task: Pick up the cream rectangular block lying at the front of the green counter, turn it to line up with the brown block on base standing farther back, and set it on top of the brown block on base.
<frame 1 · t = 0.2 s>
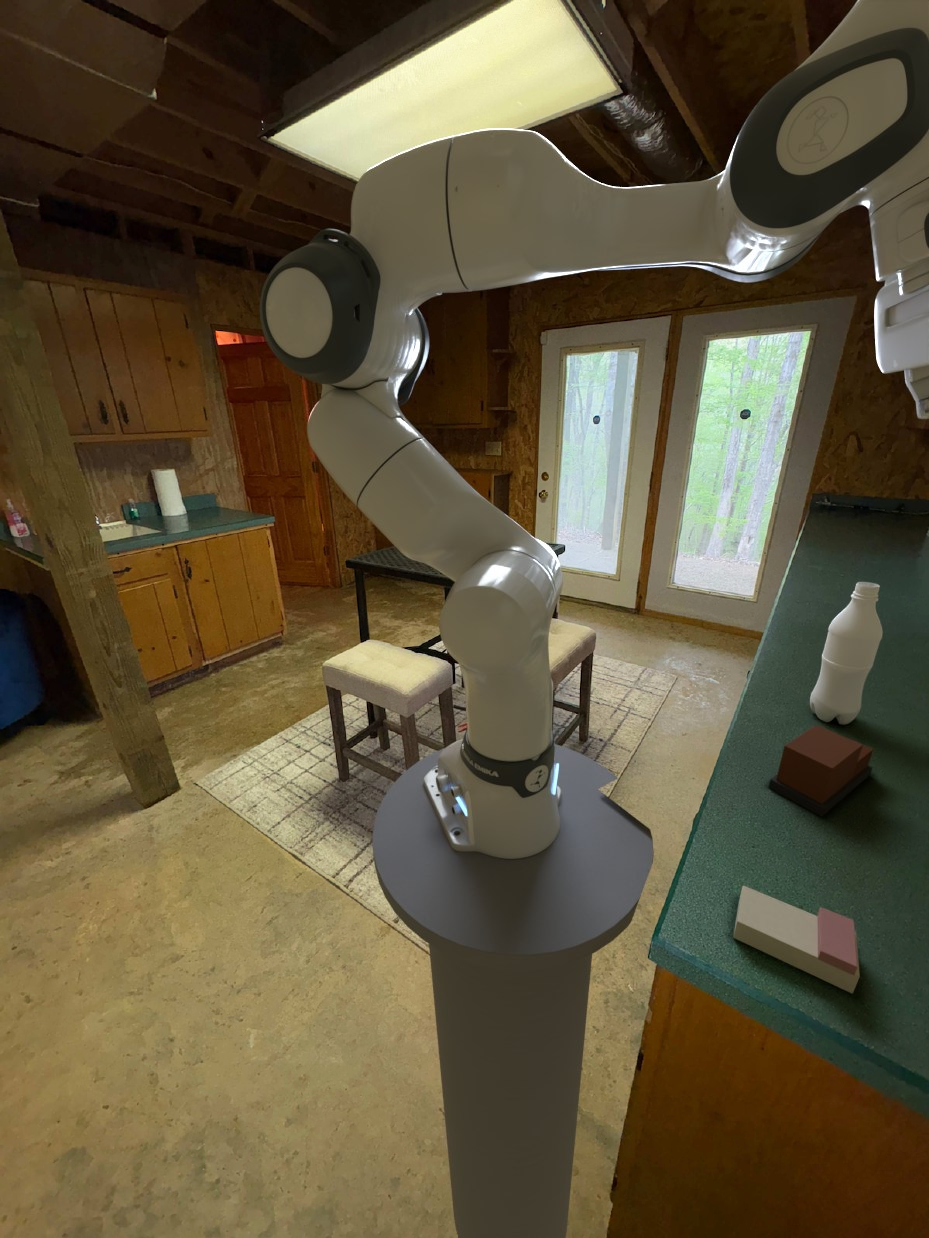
cream rectangular block: (790, 943, 50), on the kitchen counter
water bottle: (830, 717, 87), on the kitchen counter
brown block on base: (819, 781, 72), on the kitchen counter
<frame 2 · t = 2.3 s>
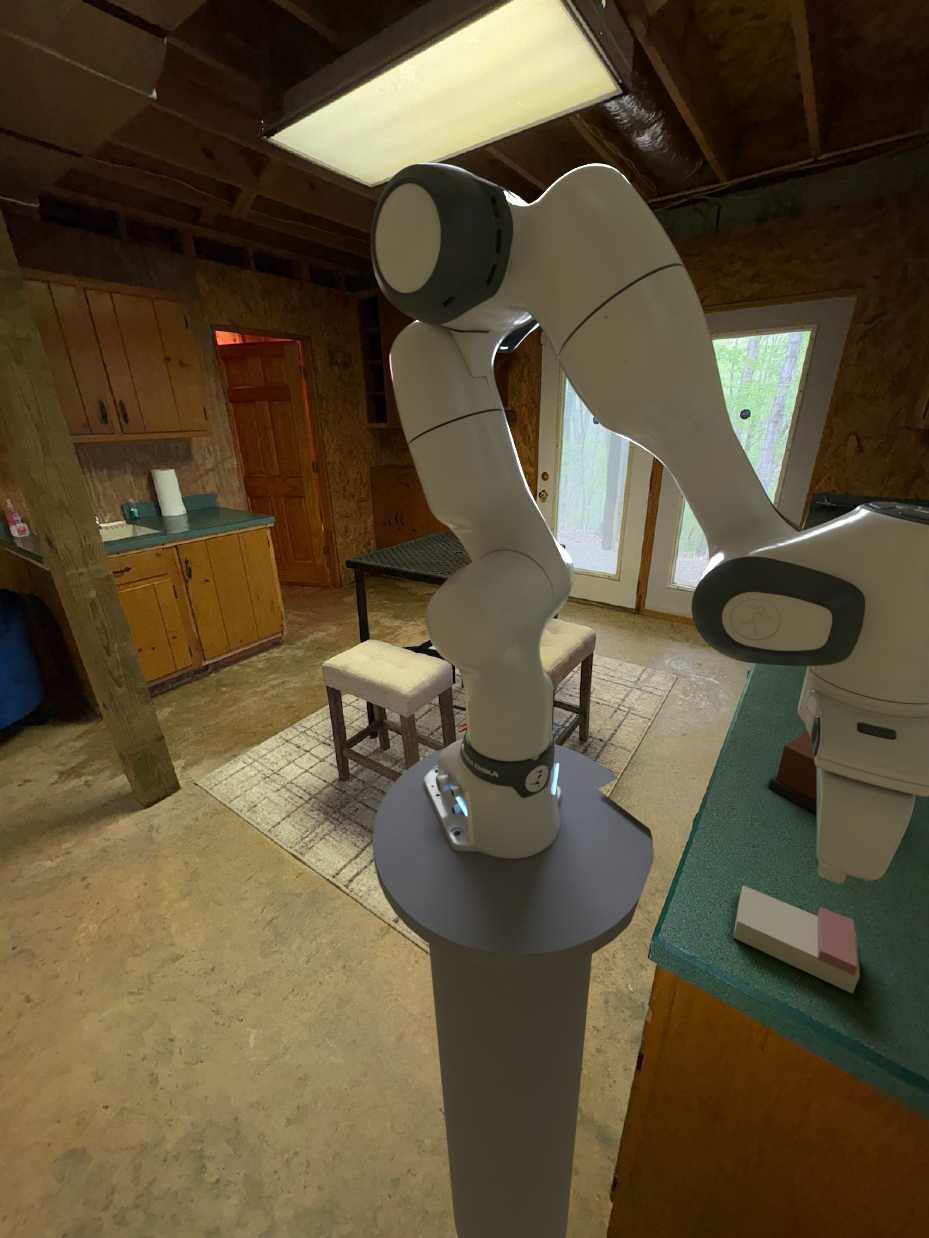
hand: (828, 836, 44), 15 cm above the kitchen counter, tool pointing down, fingers open, 8 cm apart
nothing on the kitchen counter moved.
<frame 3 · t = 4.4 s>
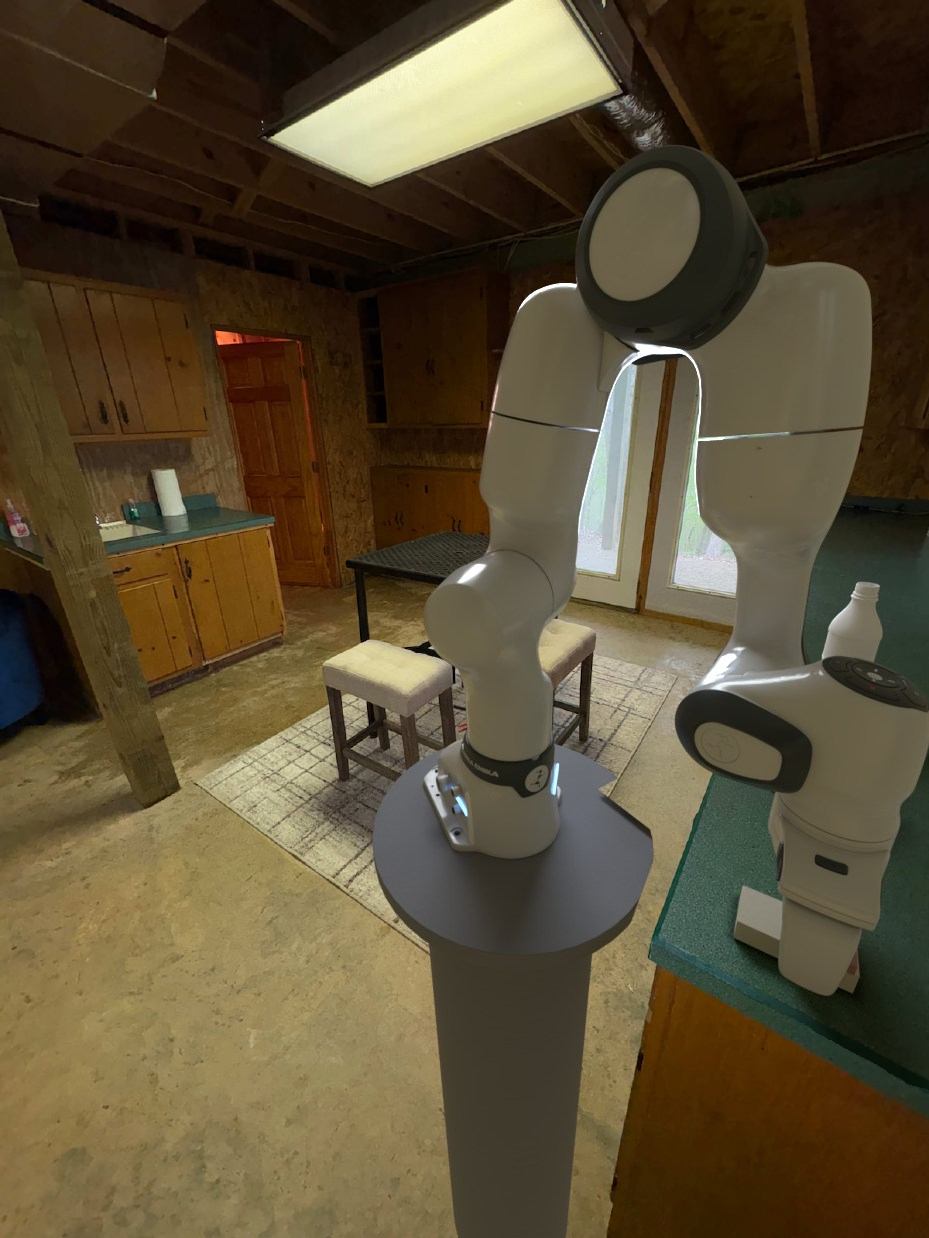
hand: (794, 932, 49), 2 cm above the kitchen counter, tool pointing down, fingers closed on cream rectangular block, 5 cm apart
cream rectangular block: (790, 943, 50), on the kitchen counter, touching gripper
everything else where it was.
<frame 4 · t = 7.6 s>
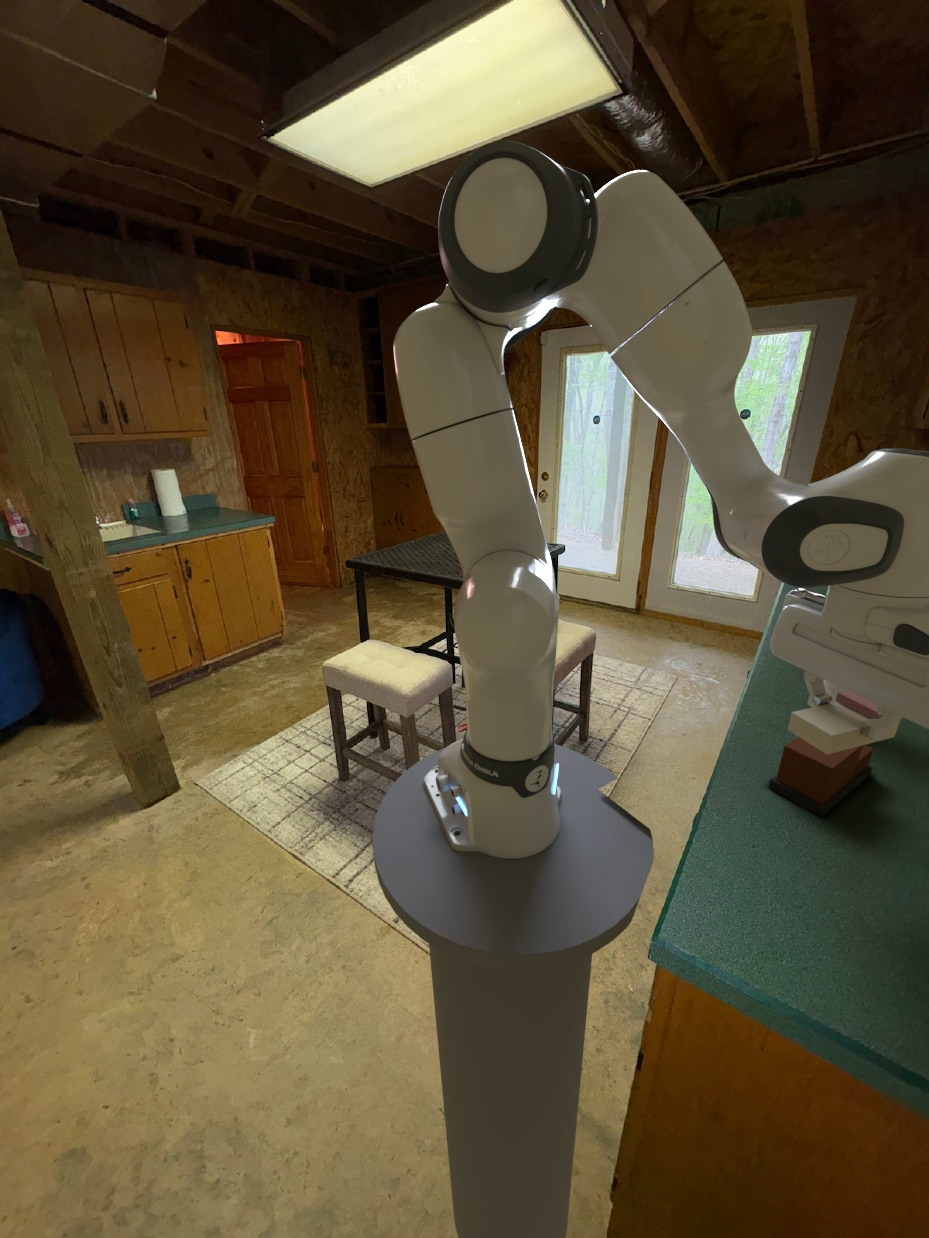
hand: (843, 721, 56), 17 cm above the kitchen counter, tool pointing down, fingers closed on cream rectangular block, 5 cm apart
cream rectangular block: (839, 733, 57), point 16 cm above the kitchen counter, touching gripper
everything else where it was.
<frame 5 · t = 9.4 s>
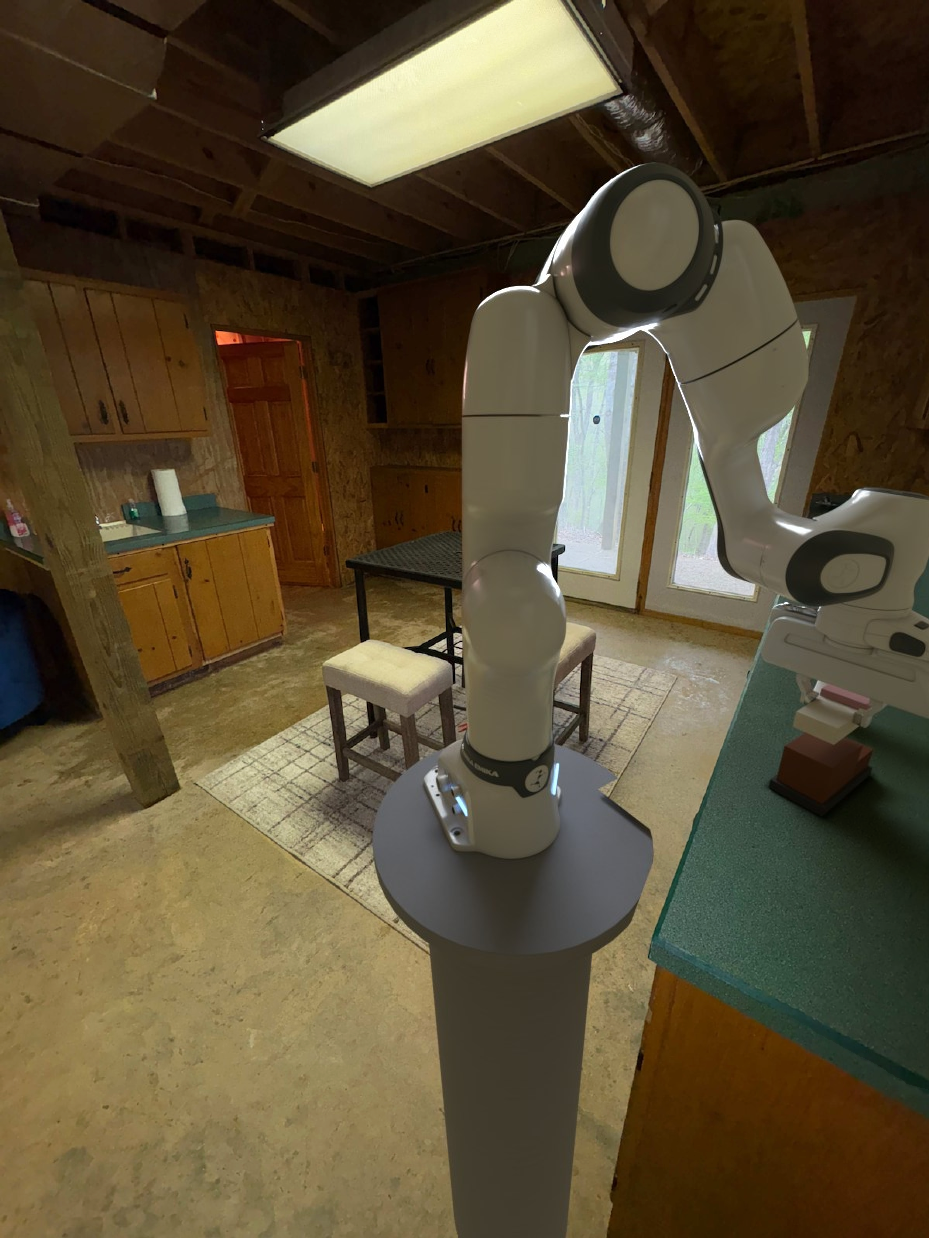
hand: (833, 713, 66), 13 cm above the kitchen counter, tool pointing down, fingers closed on cream rectangular block, 5 cm apart
cream rectangular block: (830, 723, 67), point 11 cm above the kitchen counter, touching gripper
everything else where it was.
when the fingers open (9 cm above the kitchen counter, at t = 10.8 s): cream rectangular block stays where it is, resting on brown block on base.
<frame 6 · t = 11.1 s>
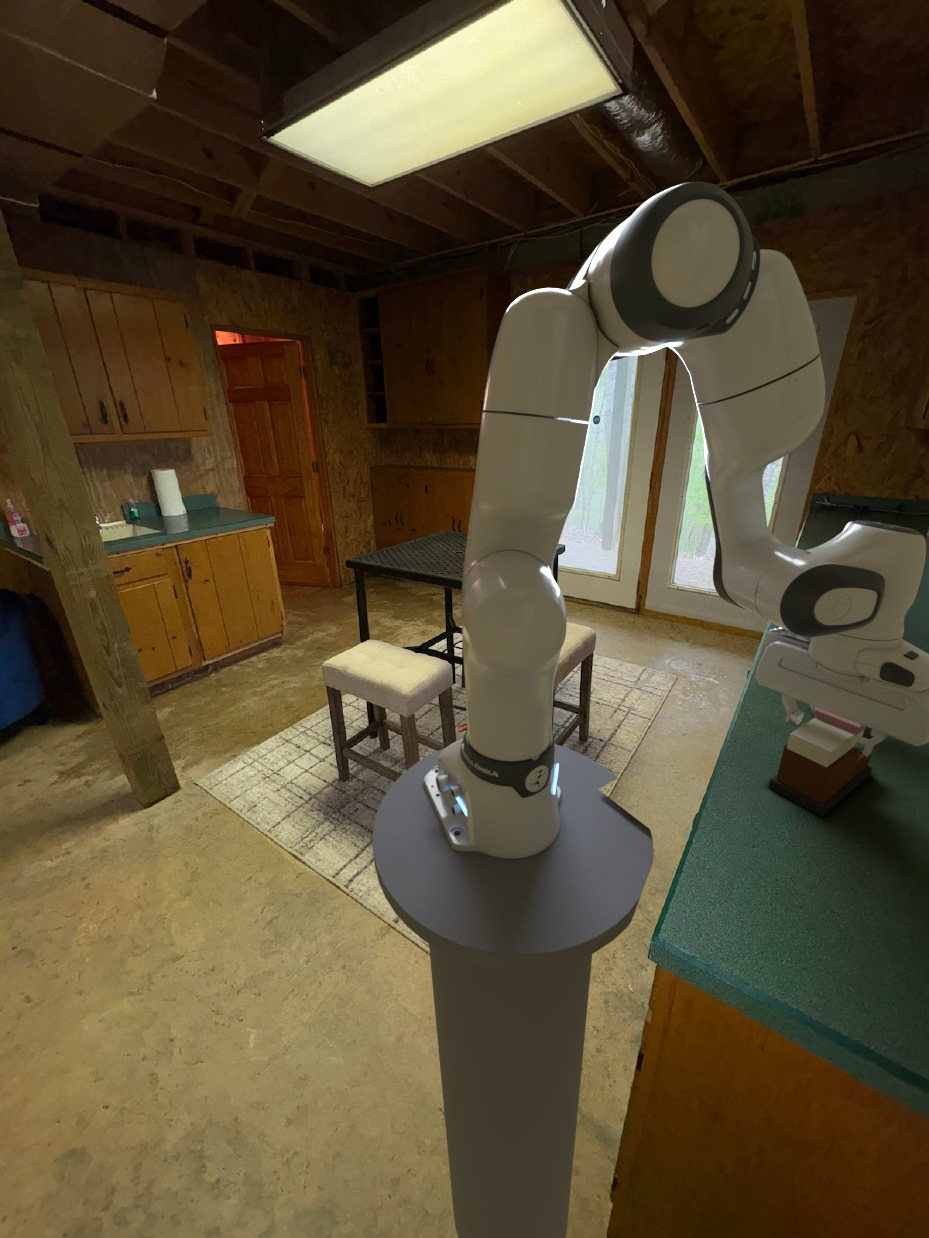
hand: (825, 737, 67), 9 cm above the kitchen counter, tool pointing down, fingers open, 7 cm apart
cream rectangular block: (823, 744, 68), point 7 cm above the kitchen counter, touching brown block on base
everything else where it was.
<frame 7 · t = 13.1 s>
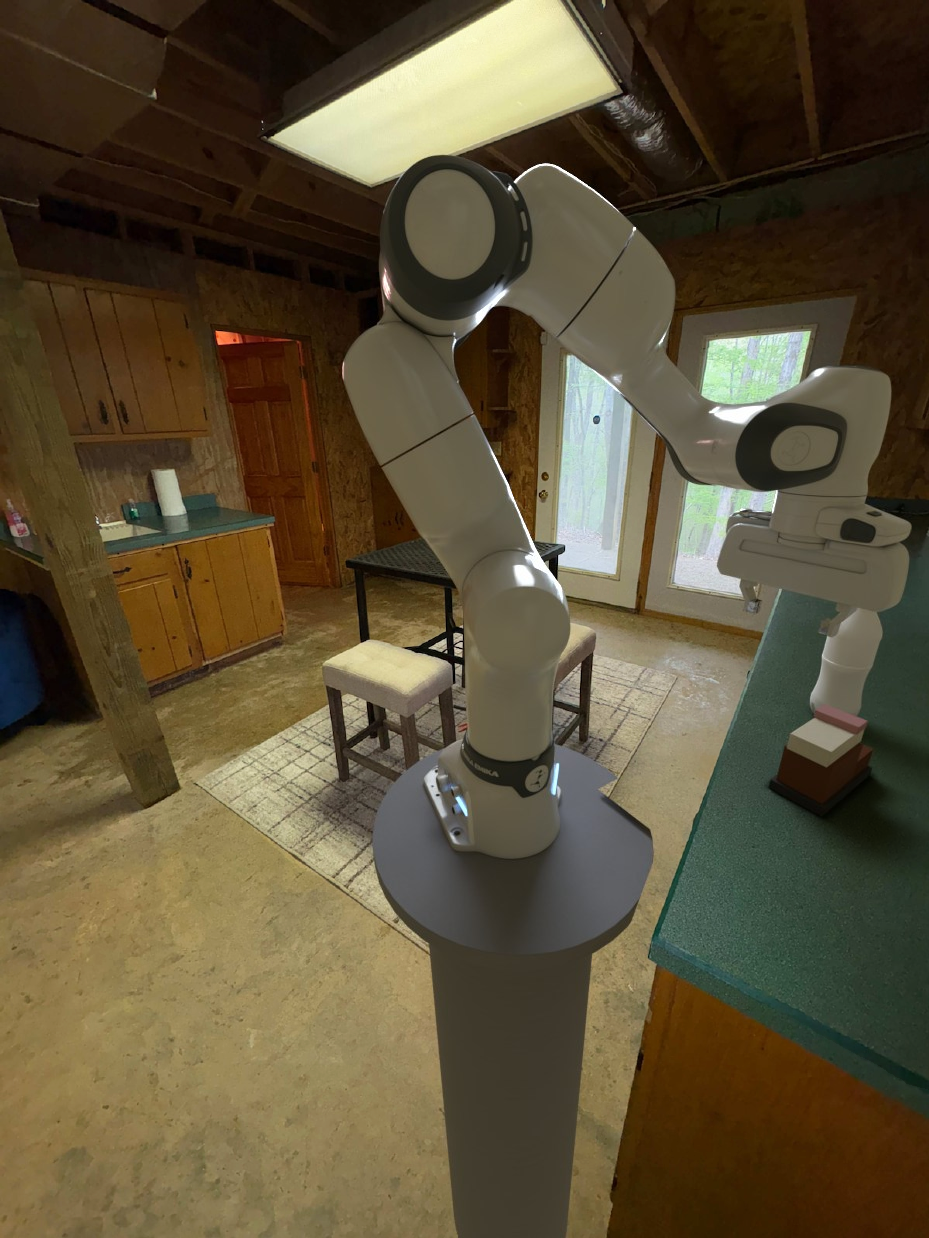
hand: (787, 622, 63), 25 cm above the kitchen counter, tool pointing down, fingers open, 8 cm apart
nothing on the kitchen counter moved.
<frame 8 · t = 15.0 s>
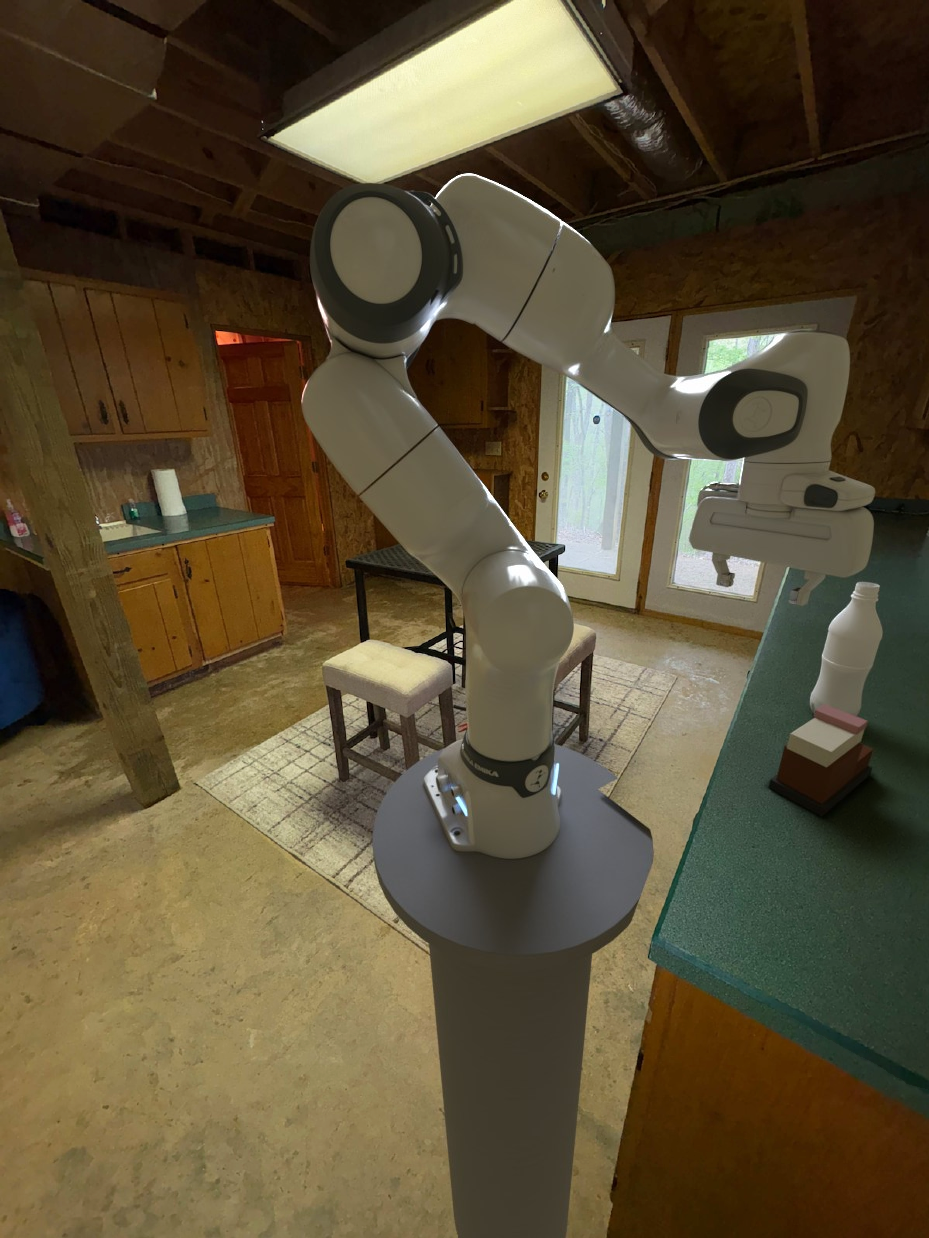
hand: (758, 594, 63), 29 cm above the kitchen counter, tool pointing down, fingers open, 8 cm apart
nothing on the kitchen counter moved.
at the end: cream rectangular block inside the target area on the brown block on base (0.1 cm from its centre), point 7.5 cm above the brown block on base's base; cream rectangular block touching brown block on base; cream rectangular block tilted 0° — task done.
